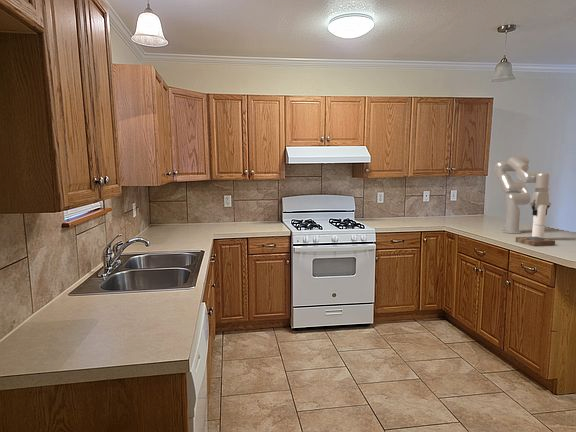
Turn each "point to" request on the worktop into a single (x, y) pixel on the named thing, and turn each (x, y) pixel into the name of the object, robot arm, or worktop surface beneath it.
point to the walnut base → (535, 241)
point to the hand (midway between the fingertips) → (539, 214)
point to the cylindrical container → (539, 222)
